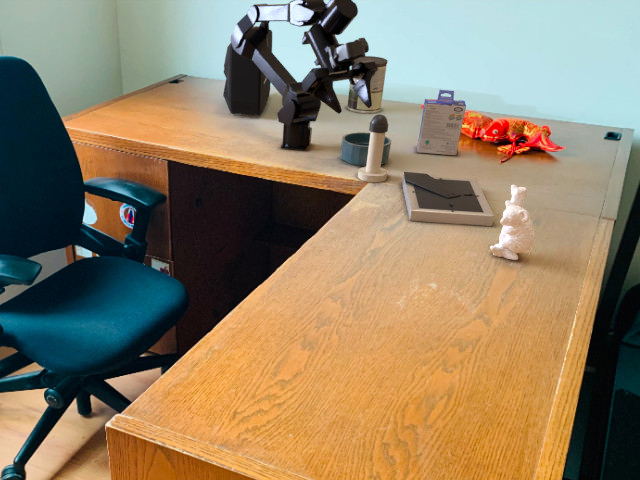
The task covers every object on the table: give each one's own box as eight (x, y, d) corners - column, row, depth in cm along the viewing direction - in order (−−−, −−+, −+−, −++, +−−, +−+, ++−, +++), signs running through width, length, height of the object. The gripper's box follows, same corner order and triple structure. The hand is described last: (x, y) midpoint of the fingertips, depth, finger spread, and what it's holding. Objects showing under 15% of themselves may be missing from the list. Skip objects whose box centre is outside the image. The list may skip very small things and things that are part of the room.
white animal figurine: (482, 243, 123) (497, 180, 116) (520, 246, 122) (537, 183, 115) (491, 264, 116) (508, 198, 109) (531, 267, 115) (550, 201, 108)
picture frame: (401, 183, 148) (409, 220, 131) (403, 171, 146) (412, 207, 129) (474, 188, 147) (491, 226, 129) (476, 175, 145) (495, 212, 128)
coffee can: (340, 109, 201) (345, 59, 193) (356, 103, 208) (362, 54, 200) (371, 115, 196) (378, 64, 188) (386, 108, 203) (393, 59, 195)
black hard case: (260, 120, 189) (262, 44, 178) (217, 117, 190) (217, 42, 179) (270, 95, 214) (273, 27, 203) (233, 93, 215) (233, 25, 204)
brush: (353, 178, 150) (360, 115, 142) (364, 170, 155) (371, 109, 147) (380, 184, 148) (389, 120, 140) (390, 176, 152) (399, 113, 144)
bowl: (337, 165, 158) (339, 144, 155) (343, 150, 167) (345, 130, 165) (386, 170, 156) (389, 148, 153) (389, 155, 165) (392, 134, 162)
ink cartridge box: (455, 149, 170) (467, 90, 162) (457, 156, 165) (469, 95, 157) (416, 146, 171) (426, 87, 163) (416, 153, 167) (426, 93, 159)
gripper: (314, 27, 139) (345, 93, 137) (377, 21, 148) (407, 83, 146) (288, 61, 148) (316, 123, 147) (349, 53, 157) (376, 111, 156)
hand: (355, 109), depth 149 cm, fingers open, 9 cm apart
